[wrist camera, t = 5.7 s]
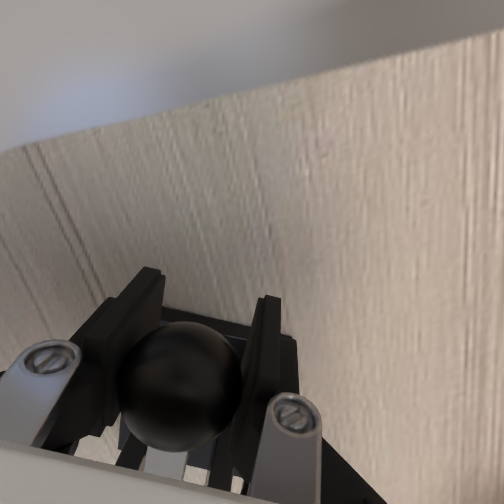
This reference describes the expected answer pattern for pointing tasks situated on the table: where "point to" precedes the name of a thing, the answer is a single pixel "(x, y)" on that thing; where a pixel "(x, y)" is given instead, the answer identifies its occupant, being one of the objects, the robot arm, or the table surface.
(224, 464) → the switch bracket
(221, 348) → the switch lever
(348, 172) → the table surface
